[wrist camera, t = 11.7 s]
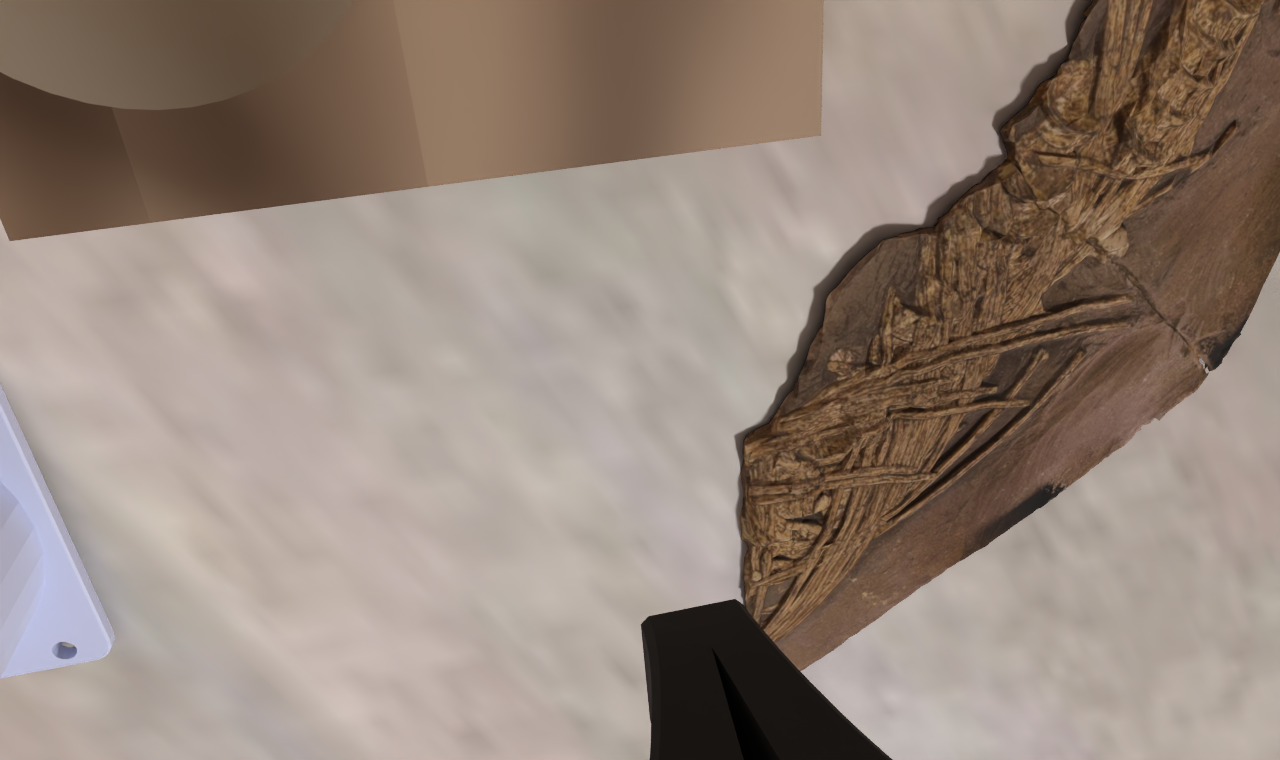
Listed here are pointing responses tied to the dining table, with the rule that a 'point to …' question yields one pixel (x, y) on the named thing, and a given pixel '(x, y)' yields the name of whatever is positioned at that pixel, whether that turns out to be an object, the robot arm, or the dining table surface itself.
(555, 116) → the board
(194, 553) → the dining table surface
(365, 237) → the dining table surface
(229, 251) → the dining table surface
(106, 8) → the peg
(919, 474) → the wooden fragment
